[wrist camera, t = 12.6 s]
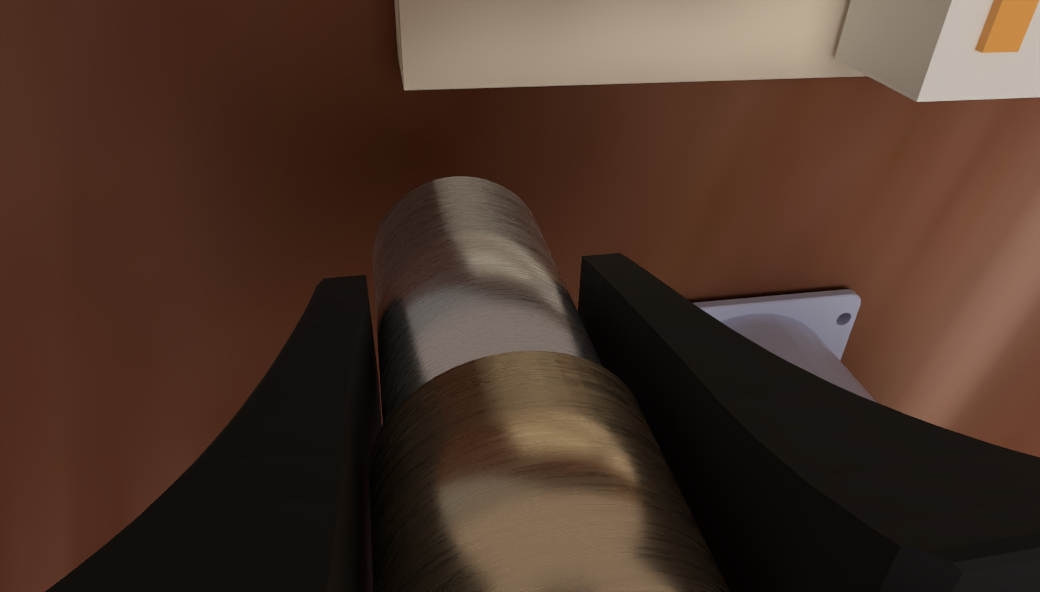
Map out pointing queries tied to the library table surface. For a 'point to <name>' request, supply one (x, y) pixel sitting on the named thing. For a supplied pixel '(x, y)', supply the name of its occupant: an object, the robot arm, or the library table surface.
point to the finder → (946, 47)
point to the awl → (508, 420)
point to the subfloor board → (615, 41)
